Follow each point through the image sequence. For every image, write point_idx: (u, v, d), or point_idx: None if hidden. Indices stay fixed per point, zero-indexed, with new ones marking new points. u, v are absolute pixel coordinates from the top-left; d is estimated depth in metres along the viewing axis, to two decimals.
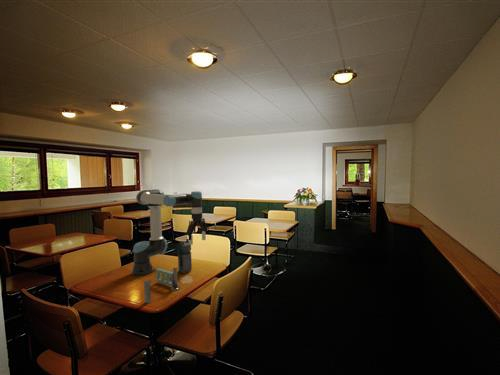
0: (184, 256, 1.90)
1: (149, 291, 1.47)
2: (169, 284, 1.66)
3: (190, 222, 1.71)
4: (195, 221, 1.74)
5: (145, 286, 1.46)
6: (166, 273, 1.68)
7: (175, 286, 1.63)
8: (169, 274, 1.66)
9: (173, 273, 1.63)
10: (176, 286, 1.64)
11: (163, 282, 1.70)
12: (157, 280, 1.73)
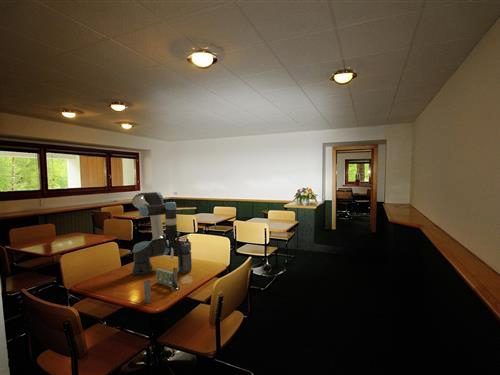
0: (184, 256, 1.90)
1: (149, 291, 1.47)
2: (169, 284, 1.66)
3: None
4: None
5: (145, 286, 1.46)
6: (166, 273, 1.68)
7: (175, 286, 1.63)
8: (169, 274, 1.66)
9: (173, 273, 1.63)
10: (176, 286, 1.64)
11: (163, 282, 1.70)
12: (157, 280, 1.73)
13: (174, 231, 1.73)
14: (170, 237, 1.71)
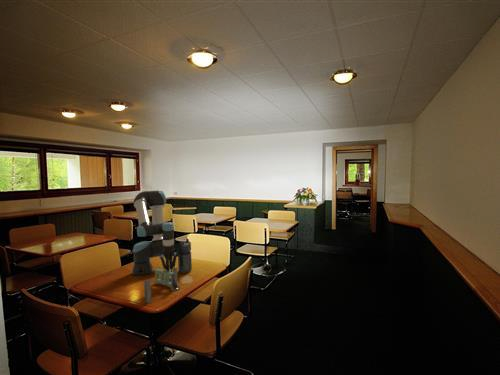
0: (184, 256, 1.90)
1: (149, 291, 1.47)
2: (169, 284, 1.66)
3: None
4: None
5: (145, 286, 1.46)
6: (166, 273, 1.67)
7: (175, 286, 1.63)
8: (169, 274, 1.66)
9: (173, 273, 1.63)
10: (176, 286, 1.64)
11: (162, 282, 1.69)
12: (156, 281, 1.72)
13: (172, 251, 1.73)
14: (168, 258, 1.70)
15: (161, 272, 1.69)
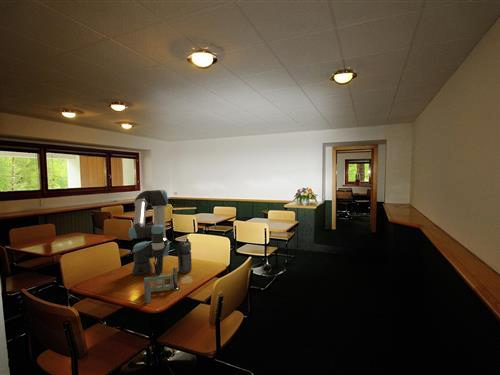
0: (184, 256, 1.90)
1: (149, 291, 1.47)
2: (167, 287, 1.62)
3: None
4: None
5: (145, 286, 1.46)
6: (163, 277, 1.61)
7: (175, 286, 1.63)
8: (168, 277, 1.62)
9: (173, 273, 1.63)
10: (176, 286, 1.64)
11: (157, 289, 1.60)
12: None
13: (161, 254, 1.66)
14: (160, 261, 1.63)
15: (155, 278, 1.59)
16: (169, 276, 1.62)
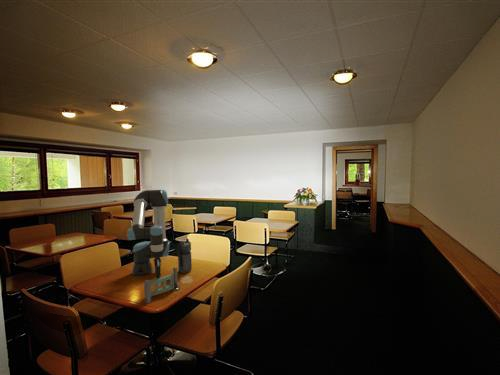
0: (184, 256, 1.90)
1: (149, 291, 1.47)
2: (169, 288, 1.60)
3: None
4: None
5: (145, 286, 1.46)
6: (164, 279, 1.58)
7: (175, 286, 1.63)
8: (169, 277, 1.60)
9: (173, 273, 1.63)
10: (176, 286, 1.64)
11: (159, 291, 1.56)
12: None
13: None
14: None
15: (158, 281, 1.55)
16: (170, 277, 1.61)
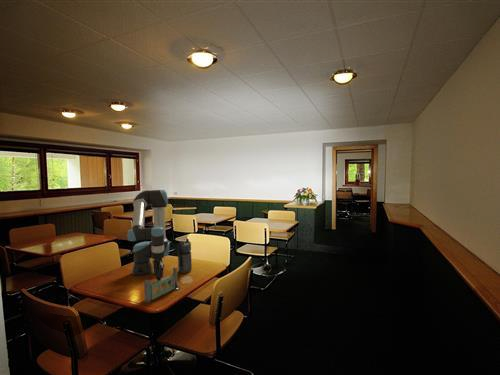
0: (184, 256, 1.90)
1: (149, 291, 1.47)
2: (170, 288, 1.60)
3: None
4: (154, 259, 1.58)
5: (145, 286, 1.46)
6: (166, 279, 1.57)
7: (175, 286, 1.63)
8: (170, 278, 1.60)
9: (173, 273, 1.63)
10: (176, 286, 1.64)
11: (162, 292, 1.54)
12: (153, 297, 1.49)
13: None
14: None
15: (161, 282, 1.53)
16: (171, 277, 1.61)
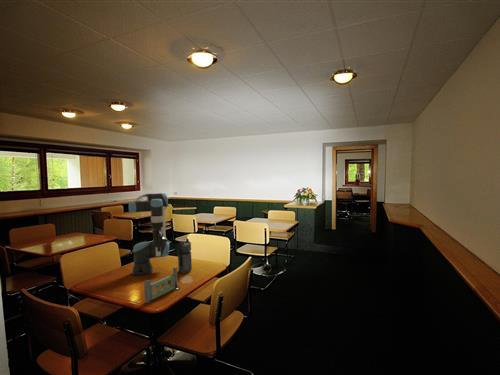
0: (184, 256, 1.90)
1: (149, 291, 1.47)
2: (170, 288, 1.60)
3: None
4: (154, 229, 1.69)
5: (145, 286, 1.46)
6: (166, 279, 1.57)
7: (175, 286, 1.63)
8: (170, 278, 1.60)
9: (173, 273, 1.63)
10: (176, 286, 1.64)
11: (162, 292, 1.54)
12: (153, 297, 1.49)
13: None
14: None
15: (160, 282, 1.53)
16: (171, 277, 1.61)
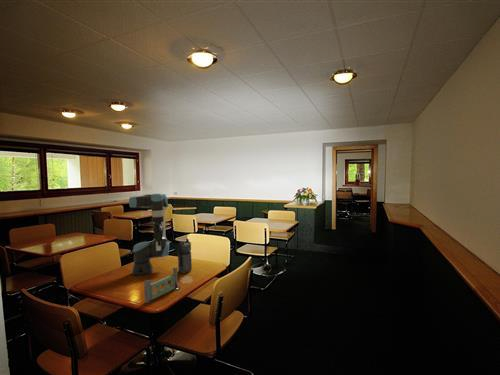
0: (184, 256, 1.90)
1: (149, 291, 1.47)
2: (170, 288, 1.60)
3: None
4: (154, 224, 1.70)
5: (145, 286, 1.46)
6: (166, 279, 1.57)
7: (175, 286, 1.63)
8: (170, 278, 1.60)
9: (173, 273, 1.63)
10: (176, 286, 1.64)
11: (162, 292, 1.54)
12: (153, 297, 1.49)
13: None
14: None
15: (160, 282, 1.53)
16: (171, 277, 1.61)
